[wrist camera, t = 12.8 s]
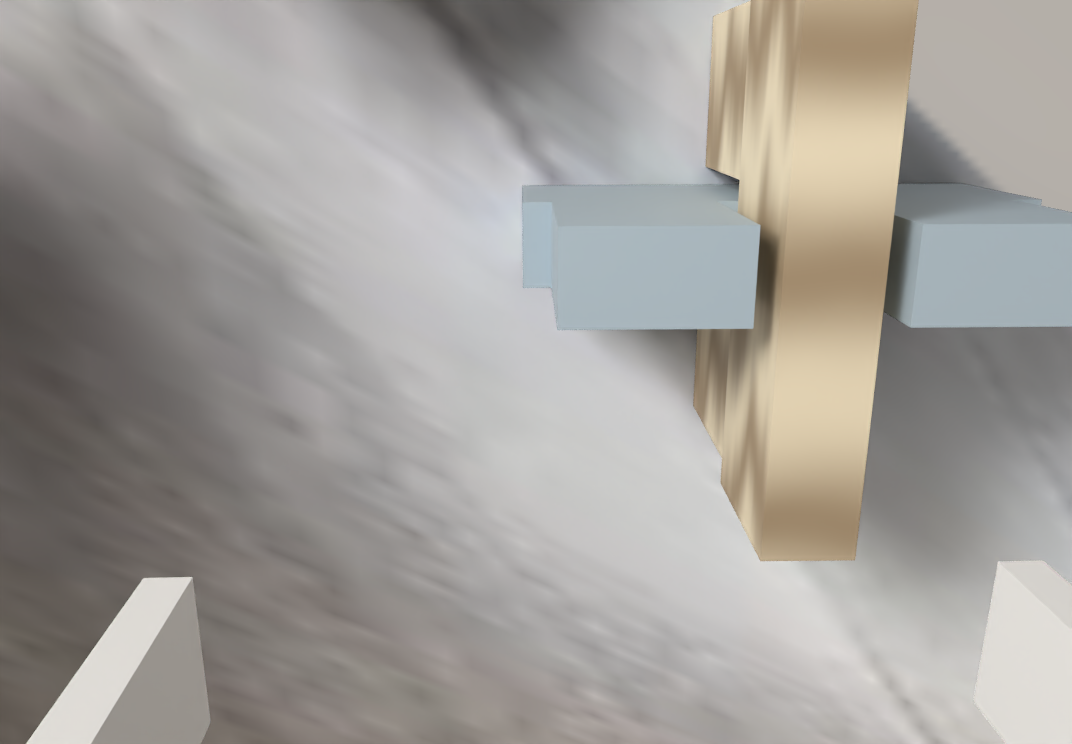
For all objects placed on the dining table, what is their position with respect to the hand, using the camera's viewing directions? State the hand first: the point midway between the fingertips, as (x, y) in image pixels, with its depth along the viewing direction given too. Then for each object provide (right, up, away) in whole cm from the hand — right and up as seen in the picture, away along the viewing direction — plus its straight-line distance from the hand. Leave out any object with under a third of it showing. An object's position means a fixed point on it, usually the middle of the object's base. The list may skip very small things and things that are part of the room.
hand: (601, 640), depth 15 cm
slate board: (+7, +11, +22) cm, 26 cm away
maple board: (+7, +11, +22) cm, 26 cm away
